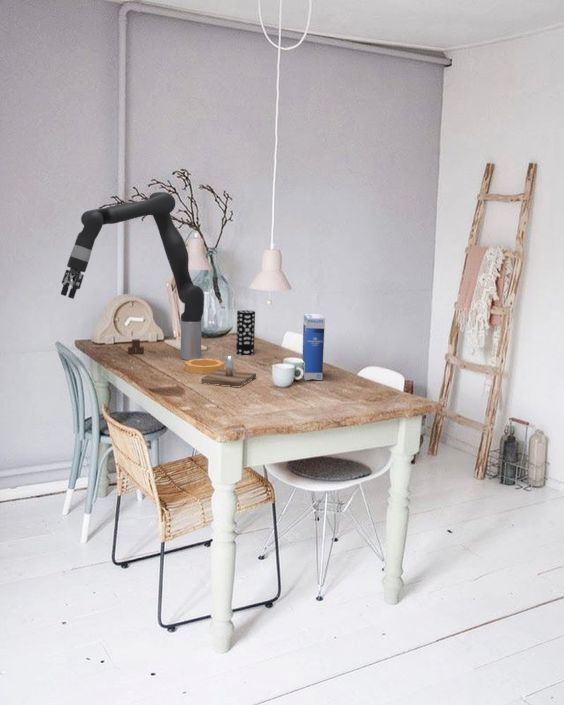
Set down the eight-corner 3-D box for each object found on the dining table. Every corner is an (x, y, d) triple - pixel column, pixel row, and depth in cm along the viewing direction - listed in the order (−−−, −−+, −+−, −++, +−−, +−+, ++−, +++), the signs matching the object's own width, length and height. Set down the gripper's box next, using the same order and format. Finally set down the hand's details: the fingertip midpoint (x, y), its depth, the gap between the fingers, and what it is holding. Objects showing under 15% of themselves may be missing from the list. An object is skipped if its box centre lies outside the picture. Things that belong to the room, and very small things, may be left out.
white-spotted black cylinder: (257, 353, 353) (258, 311, 349) (247, 356, 346) (248, 313, 342) (243, 351, 358) (244, 309, 354) (232, 353, 351) (233, 311, 347)
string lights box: (322, 381, 304) (325, 318, 299) (303, 380, 303) (306, 318, 298) (318, 373, 317) (321, 313, 312) (300, 373, 316) (303, 312, 311)
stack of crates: (120, 359, 335) (120, 344, 333) (119, 352, 349) (119, 337, 348) (154, 358, 338) (154, 343, 337) (151, 351, 353) (151, 337, 351)
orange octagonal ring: (195, 364, 326) (195, 357, 326) (228, 368, 322) (228, 361, 321) (179, 371, 312) (179, 364, 312) (213, 375, 307) (213, 368, 307)
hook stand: (219, 373, 310) (220, 350, 308) (256, 378, 305) (256, 354, 303) (201, 383, 294) (201, 358, 292) (239, 387, 289) (239, 362, 287)
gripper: (94, 263, 298) (81, 301, 298) (81, 259, 310) (69, 297, 310) (77, 257, 294) (64, 296, 294) (64, 253, 305) (52, 291, 305)
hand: (66, 296), depth 302 cm, fingers open, 8 cm apart
